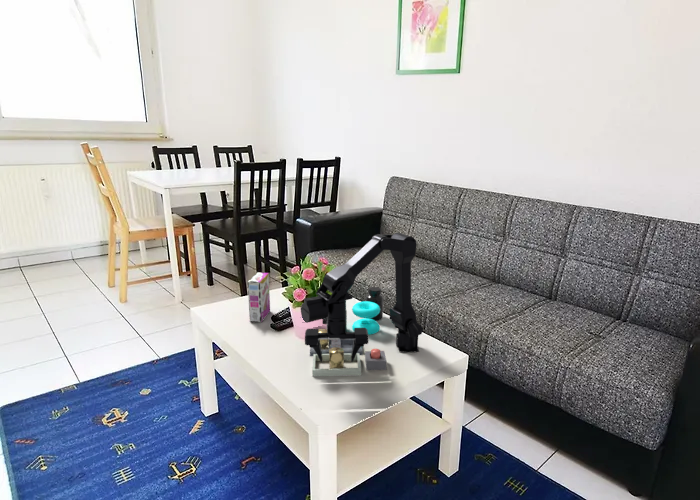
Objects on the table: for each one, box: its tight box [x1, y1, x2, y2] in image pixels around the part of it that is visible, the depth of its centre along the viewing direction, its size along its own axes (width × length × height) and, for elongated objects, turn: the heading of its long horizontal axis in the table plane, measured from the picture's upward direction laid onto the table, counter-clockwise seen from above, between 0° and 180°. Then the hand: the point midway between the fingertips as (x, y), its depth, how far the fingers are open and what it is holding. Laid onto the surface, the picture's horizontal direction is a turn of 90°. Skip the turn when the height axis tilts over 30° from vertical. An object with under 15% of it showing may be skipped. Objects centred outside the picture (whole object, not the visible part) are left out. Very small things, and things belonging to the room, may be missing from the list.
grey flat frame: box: [309, 339, 363, 357], centre depth 148 cm, size 17×10×2 cm, turn 92°
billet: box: [328, 347, 345, 369], centre depth 136 cm, size 4×4×6 cm
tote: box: [311, 353, 362, 377], centre depth 136 cm, size 14×9×3 cm, turn 92°
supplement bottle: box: [365, 286, 384, 322], centre depth 171 cm, size 7×7×12 cm
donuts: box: [351, 300, 381, 336], centre depth 161 cm, size 10×10×10 cm
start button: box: [370, 348, 381, 359], centre depth 137 cm, size 3×3×3 cm
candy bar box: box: [247, 271, 271, 323], centre depth 172 cm, size 11×5×16 cm, turn 172°
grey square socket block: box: [364, 350, 387, 371], centre depth 138 cm, size 6×6×4 cm
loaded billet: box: [318, 328, 329, 349], centre depth 147 cm, size 4×4×6 cm
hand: (336, 361), depth 136 cm, fingers open, 9 cm apart
